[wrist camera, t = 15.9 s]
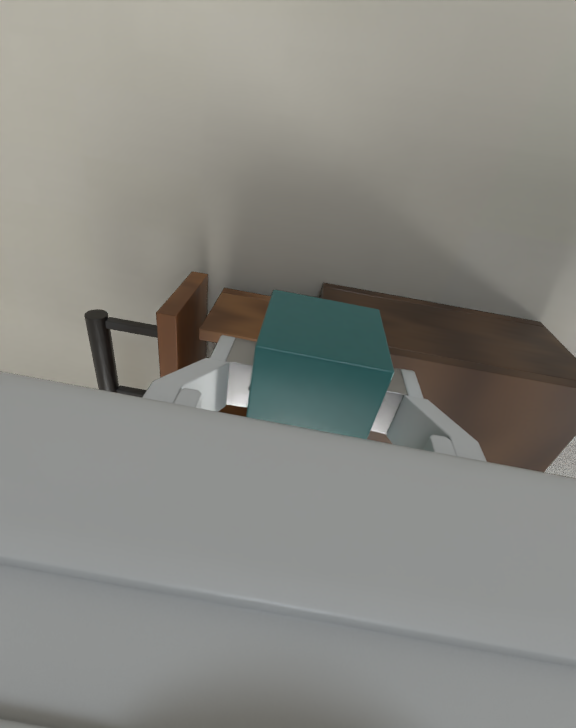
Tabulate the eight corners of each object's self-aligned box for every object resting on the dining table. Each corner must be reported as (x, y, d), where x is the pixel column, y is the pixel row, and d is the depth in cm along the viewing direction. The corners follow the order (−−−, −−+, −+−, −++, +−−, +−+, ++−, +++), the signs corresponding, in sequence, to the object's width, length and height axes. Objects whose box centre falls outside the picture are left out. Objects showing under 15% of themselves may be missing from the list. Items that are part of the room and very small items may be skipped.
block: (273, 288, 13) (254, 345, 10) (379, 308, 14) (395, 372, 10) (260, 374, 16) (242, 443, 12) (351, 391, 16) (357, 464, 13)
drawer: (131, 378, 33) (91, 431, 28) (115, 257, 27) (59, 295, 21) (358, 419, 34) (364, 480, 28) (398, 308, 27) (415, 359, 21)
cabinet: (296, 406, 35) (286, 481, 28) (323, 282, 27) (320, 341, 20) (468, 437, 35) (503, 520, 28) (540, 321, 27) (612, 394, 20)
